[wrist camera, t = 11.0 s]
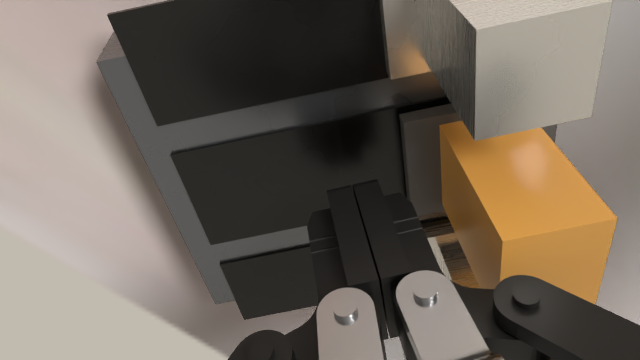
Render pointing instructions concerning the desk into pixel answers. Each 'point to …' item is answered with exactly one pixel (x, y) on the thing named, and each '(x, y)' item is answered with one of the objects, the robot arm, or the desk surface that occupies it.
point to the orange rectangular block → (508, 201)
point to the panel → (327, 112)
